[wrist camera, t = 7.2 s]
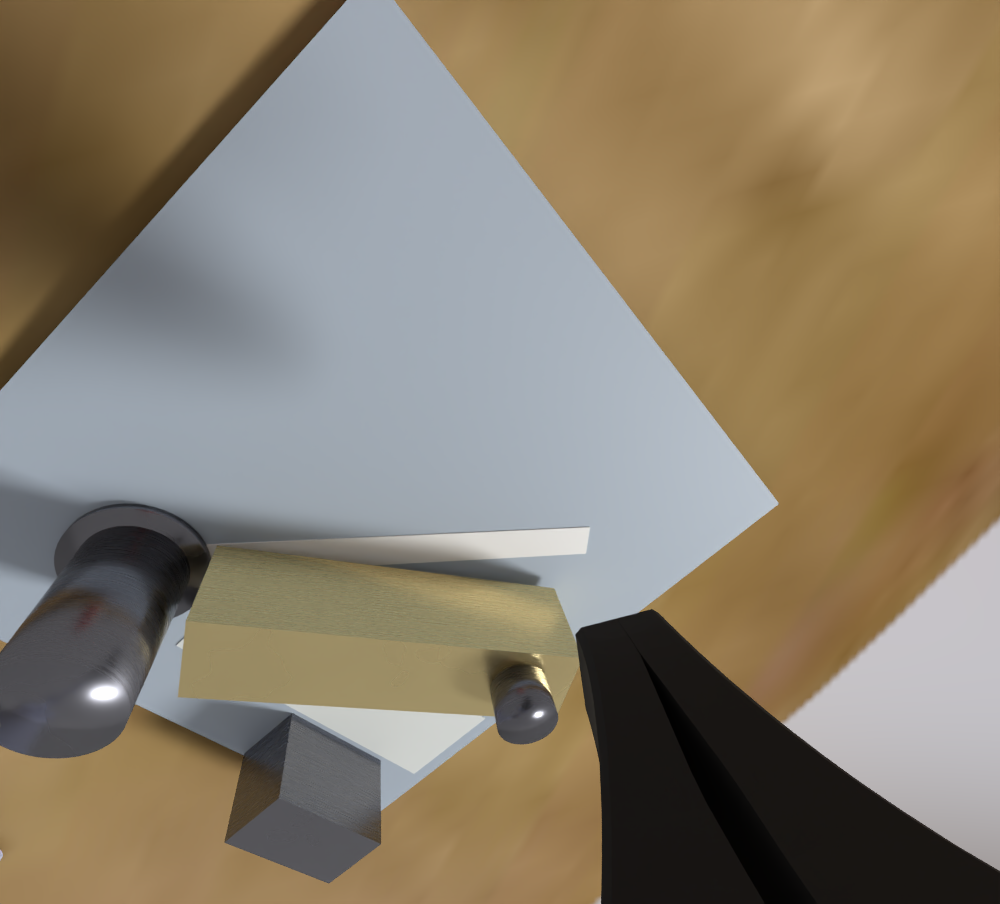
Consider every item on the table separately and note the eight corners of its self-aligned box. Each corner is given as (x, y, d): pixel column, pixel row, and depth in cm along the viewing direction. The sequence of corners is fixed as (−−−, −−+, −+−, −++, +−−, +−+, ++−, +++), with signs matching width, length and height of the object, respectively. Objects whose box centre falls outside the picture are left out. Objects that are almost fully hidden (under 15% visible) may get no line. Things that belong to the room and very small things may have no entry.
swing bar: (208, 614, 17) (161, 739, 14) (216, 545, 16) (169, 660, 13) (531, 645, 20) (566, 756, 16) (554, 588, 19) (596, 692, 15)
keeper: (334, 796, 22) (328, 883, 20) (244, 753, 20) (224, 842, 18) (380, 760, 22) (380, 844, 19) (292, 712, 20) (279, 797, 17)
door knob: (156, 636, 18) (83, 796, 13) (28, 568, 16) (-104, 724, 12) (241, 557, 17) (193, 697, 13) (117, 477, 15) (12, 606, 11)
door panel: (373, 804, 24) (373, 818, 23) (-141, 554, 16) (-157, 567, 15) (770, 496, 20) (779, 504, 20) (372, -22, 12) (372, -29, 12)
